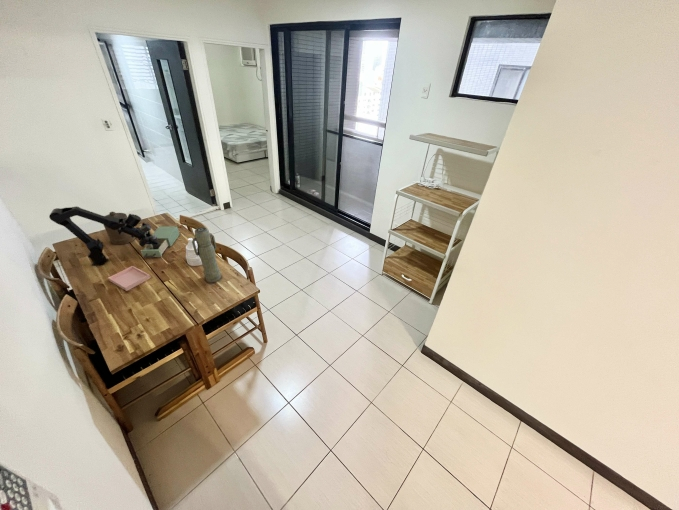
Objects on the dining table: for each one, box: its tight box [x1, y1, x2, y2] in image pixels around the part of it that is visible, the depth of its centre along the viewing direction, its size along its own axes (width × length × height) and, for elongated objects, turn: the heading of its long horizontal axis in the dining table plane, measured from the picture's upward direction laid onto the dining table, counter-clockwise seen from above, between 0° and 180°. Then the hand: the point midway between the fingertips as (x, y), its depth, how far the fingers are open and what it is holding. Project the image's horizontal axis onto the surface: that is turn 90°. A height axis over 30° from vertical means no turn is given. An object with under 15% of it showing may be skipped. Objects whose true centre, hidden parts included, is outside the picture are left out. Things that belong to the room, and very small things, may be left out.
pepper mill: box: [150, 234, 160, 250], centre depth 187 cm, size 5×5×11 cm
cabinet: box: [151, 225, 180, 248], centre depth 201 cm, size 18×13×7 cm
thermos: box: [192, 226, 222, 284], centre depth 161 cm, size 9×12×35 cm
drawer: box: [140, 239, 169, 259], centre depth 187 cm, size 21×11×5 cm, turn 7°
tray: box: [107, 265, 152, 292], centre depth 165 cm, size 17×14×2 cm
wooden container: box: [103, 211, 137, 245], centre depth 195 cm, size 15×15×22 cm
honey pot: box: [185, 237, 203, 267], centre depth 180 cm, size 13×13×18 cm
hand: (157, 242), depth 188 cm, fingers closed on pepper mill, 4 cm apart
